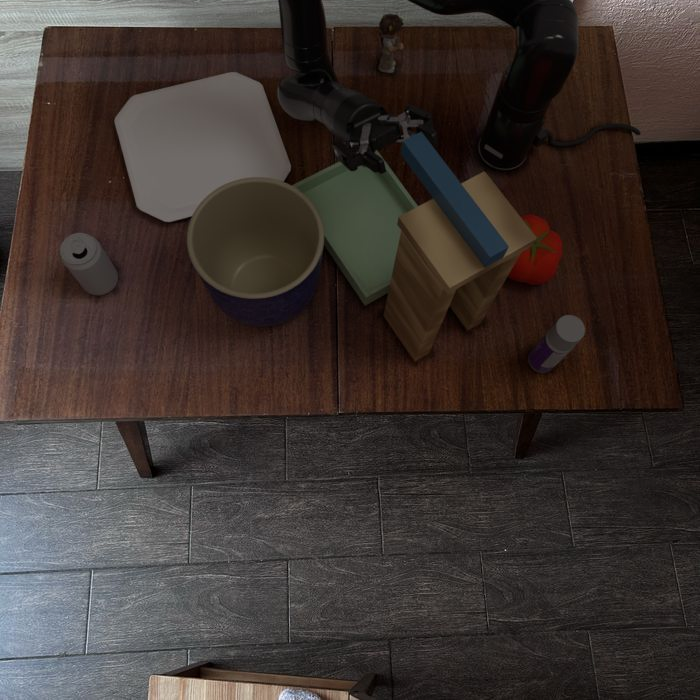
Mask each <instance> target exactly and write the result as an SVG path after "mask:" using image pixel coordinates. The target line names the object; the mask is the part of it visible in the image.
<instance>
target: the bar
mask: <svg viewBox="0 0 700 700" xmlns="http://www.w3.org/2000/svg"><path fill="white" fill-rule="evenodd" d="M400 156H401V157H402V159H403V160H404V161H405V162H406V164H407V165H408V166H409V168H410V169H411V171H412V172H413V173H414V175H415V176H416V177H417V179H418V180H419V181H420V183H421V184H422V185H423V187H424V189H426V191H427V193H429V195H430V196H431V198H432V199H434V200H435V201H436V203H437V204H438V205H439V207H440V208H441V209H442V211H443V212H444V214H445V215H446V216H447V218H448V219H449V220H450V222H451V223H452V224H453V226H454V227H455V228H456V230H457V231H458V232H459V234H460V235H461V236H462V238H463V239H464V240H465V242H466V243H467V244H468V246H469V247H470V249H471V250H472V251H473V253H474V254H475V255H476V257H477V258H478V259H479V261H480V262H481V263H482V265H483V266H484V267H485V268H486V267H487V266H489V265H491V264H493V263H494V262H496V261H498V260H500V259H502V258H503V257H504V255H505V253H506V251H507V250H508V248H509V246H508V245H507V243H506V242H505V241H504V239H503V238H502V237H501V235H500V234H499V233H498V231H497V230H496V229H495V227H494V226H493V225H492V224H491V222H490V221H489V220H488V218H487V217H486V216H485V214H484V213H483V212H482V210H481V209H480V208H479V207H478V205H477V204H476V203H475V201H474V200H473V199H472V197H471V196H470V195H469V193H468V192H467V191H466V189H465V188H464V187H463V186H462V184H461V183H462V182H460V180H459V179H458V177H457V176H456V175H455V174H454V172H453V171H452V169H451V168H450V167H449V166H448V164H447V163H446V162H445V160H444V158H443V157H441V155H440V154H439V152H438V151H437V150H436V149H435V147H434V148H433V146H432V145H431V144H430V142H429V141H428V140H427V138H426V137H425V136H424V134H423V133H422V132H419V133H417V134H415V135H413V136H412V137H410V138H408V139H406V140H404V141H403V142H401V148H400Z"/></svg>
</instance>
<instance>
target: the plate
mask: <svg viewBox="0 0 700 700" xmlns="http://www.w3.org/2000/svg"><path fill="white" fill-rule="evenodd" d="M276 122H277V121H276V120H275V116H274V114H273V111H272V107H271V106H270V103H269V100H268V97H267V94H266V91H265V89H264V85H263V84H262V83H261V82H259V81H258V80H255V79H253V78H250V77H249V76H246V75H244V74H242V73H239V72H238V71H237V72H236V71H230V72H225V73H222V74H218V75H213V76H208V77H203V78H201V79H196V80H193V81H187V82H184V83H180V84H179V83H178V84H175V85H171V86H167V87H163V88H159V89H154V90H151V91H150V90H149V91H146V92H142V93H138V94H134V95H132V96H131V97H129V98H128V99H127V101H126V103H125V104H124V105H123V106H122V107H121V109H120V110H119V112H118V113H117V114H116V116H115V117H114V125H115V130H116V133H117V137H118V140H119V144H120V148H121V153H122V156H123V159H124V163H125V167H126V171H127V175H128V179H129V182H130V186H131V190H132V193H133V197H134V202H135V204H136V205H135V206H136V208H137V209H138V210H139V211H140V212H142V213H144V214H146V215H148V216H151V217H152V218H155V219H157V220H159V221H161V222H163V223H169V224H170V223H174V222H178V221H182V220H185V219H191V217H192V215H193V213H194V212H195V210H196V208H197V207H198V205H199V204H200V203H201V202H202V201H203V200H204V198H206V197H207V196H208V195H209V194H210V193H211V192H213V191H214V190H216V189H217V188H219V187H221V186H223V185H225V184H227V183H229V182H232V181H235V180H239V179H244V178H251V177H263V178H271V179H276V180H279V181H282V182H285V181H286V180H287V178H288V176H289V175H290V173H291V171H292V165H291V162H290V159H289V156H288V153H287V150H286V148H285V144H284V142H283V140H282V139H283V138H282V137H281V134H280V131H279V128H278V125H277V123H276Z"/></svg>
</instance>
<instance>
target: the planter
mask: <svg viewBox="0 0 700 700" xmlns="http://www.w3.org/2000/svg"><path fill="white" fill-rule="evenodd" d="M292 185H293V184H292ZM292 185H291V184H290V183H287V182H285V181H284V182H282V181H279V180H276V179H271V178H263V177H251V178H244V179H239V180H235V181H232V182H229V183H227V184H225V185H223V186H221V187H219V188H217V189H216V190H214V191H213V192H211V193H210V194H209V195H208V196H207V197H206V198H204V200H203V201H202V202H201V203H200V204H199V205H198V207H197V208H196V210H195V212H194V213H193V215H192V217H190V220H189V223H188V226H187V230H186V231H187V232H186V248H187V254H188V257H189V259H190V262H191V264H192V266H193V268H194V270H195V271H196V273H197V275H198V276H199V278H200V280H201V282H202V283H203V286H204V287H205V288H206V291H207V292H208V294H209V296H210V297H211V300H212V301H213V302H214V303H215V304H216V306H217V307H218V308H219V309H220V310H221V311H222V312H223V313H224V314H226V315H227V316H228V317H229V318H231V319H233V320H235V321H237V322H238V323H241V324H243V325H247V326H251V327H257V328H258V327H259V328H268V327H274V326H275V327H276V326H278V325H281V324H284V323H287V322H288V321H290V320H292V319H294V318H295V317H297V316H298V315H299V314H301V313H302V312H303V311H304V310H305V309H306V307H307V306H308V305H309V303H310V302H311V301H312V299H313V297H314V295H315V293H316V291H317V288H318V284H319V280H320V275H321V267H322V260H323V255H324V254H323V252H324V247H325V246H324V227H323V223H322V220H321V217H320V214H319V212H318V210H317V209H316V207H315V206H314V204H313V203H312V202H311V200H310V199H309V198H308V197H307V196H306V195H305V194H304V193H302V192H301V191H300V190H298V189H297V188H295V187H294V186H292Z"/></svg>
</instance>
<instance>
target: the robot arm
mask: <svg viewBox="0 0 700 700" xmlns="http://www.w3.org/2000/svg"><path fill="white" fill-rule="evenodd" d="M407 1H408V2H409V3H411V4H413V5H415V6H417V7H420V8H422V9H423V10H425V11H428V12H431V13H433V14H436V15H439V16H458V15H464V14H465V15H466V14H474V13H475V14H476V13H479V14H480V13H482V14H486V15H489V16H492V17H494V18H496V19H498V20H500V21H501V22H504V23H505V24H507V25H508V26H510V27H511V28H512V29H514V30H515V53H514V57H513V60H512V61H511V63H510V64H508V65H507V66H506V67H505V69H504V71H503V73H502V74H501V75H502V76H501V79H500V82H499V83H498V87H497V90H496V93H495V97H494V99H493V102H492V106H491V108H490V110H489V114H488V118H487V120H486V123H485V125H484V129H483V131H482V134H481V137H480V139H479V140H478V141H479V142H478V145H477V153H478V157H479V159H480V160H481V162H482V163H483V164H484V165H485V166H486V167H488V168H489V169H492V170H493V171H497V172H502V173H507V172H513V171H515V170H517V169H519V168H521V166H523V164H524V163H525V162H526V159H527V157H528V155H529V154H531V152H532V150H533V147H534V148H538V147H540V146H542V145H544V144H545V142H546V139H547V138H548V139H547V141H548V143H549V144H550V145H551V146H553V147H557V148H567V147H572V146H573V147H574V146H578V145H580V144H583V143H585V142H587V141H588V140H589V139H590V138H591V137H592V136H594V134H596V133H597V132H599V131H603V130H609V129H621V130H626V131H630V132H632V133H633V134H635V135H636V136H641V131H640V130H639V129H638V128H637V127H635V126H632V125H629V124H626V123H625V124H624V123H606V124H601V125H598V126H595V127H593V128H592V129H590V131H589V132H588V133H587V134H585V135H584V136H583V137H581V138H578V139H575V140H570V141H563V142H562V141H556V140H554V135H553V133H552V131H550V130H549V129H544V128H543V126H544V124H545V119H544V118H545V116H546V114H547V111H548V109H549V107H550V105H551V103H552V101H553V99H555V97H557V96H558V95H559V93H560V92H561V90H562V89H563V87H564V85H565V83H566V81H567V79H568V77H569V76H570V74H571V72H572V70H573V68H574V66H575V63H576V61H577V58H578V54H579V16H578V11H577V8H576V6H575V4H574V2H573V1H572V0H407ZM277 3H278V13H279V22H280V32H281V40H282V42H281V43H282V48H283V56H284V61H285V63H286V65H287V66H288V68H289V69H291V70H292V71H293V72H292V73H290V74H288V75H286V76H285V77H283V78H282V79H281V80H280V82H279V84H278V86H277V93H276V94H277V99H278V102H279V104H280V106H281V108H282V109H283V110H284V112H286V114H287V115H289V116H290V117H291V118H293V119H295V120H298V121H300V122H305V123H311V124H318V125H319V124H320V126H323V127H324V128H325V129H327V130H328V131H329V132H330V133H331V134H332V135H333V136H334V137H335V138H337V139H336V140H333V141H332V142H331V144H332V148H333V152H334V155H335V159H337V160H338V162H339V161H340V162H341V163H342V164H343V165H344V166H345V167H346V168H348V169H349V170H350V171H356V170H357V169H358V166H363V167H367V168H369V169H370V170H372V171H373V172H376V173H377V172H379V173H380V174H383V173H385V172H386V168H385V164H384V160H385V159H384V158H383V157H382V158H383V159H384V160H383V159H382V158H381V157H380V156H378V155H377V154H375V152H376V150H377V151H381V150H383V149H385V148H386V147H388V146H391V145H393V144H395V143H403V141H404V140H406V139H408V138H410V137H412V136H413V135H415V134H417V133H419V132H422V133H423V134H424V136H425V137H426V138H427V140H428V141H429V142H430V144H431V145H432V146H433V148H434V149H435V148H436V147H437V146H438V142H439V138H438V132H437V130H436V129H435V128H434V123H433V116H432V113H430V112H428V111H426V110H424V109H421V108H419V107H417V106H414V105H412V104H407V105H405V106H404V107H403V109H404V112H402V113H400V114H399V115H398V114H395V113H394V114H393V113H389V112H388V111H387V109H386V108H385V107H384V106H383V105H382V104H381V103H378V101H375V100H374V99H372V98H370V97H368V96H367V95H365V94H363V93H361V92H359V91H357V90H354V89H350V88H349V87H347V86H345V85H344V84H342V83H340V81H339V79H338V77H337V74H336V72H335V70H334V66H333V63H332V61H331V58H330V55H329V51H328V32H327V19H326V13H325V7H324V3H323V0H277ZM412 128H415V130H416V131H412ZM401 129H402V133H403V134H401ZM354 151H357V152H359V153H357V152H356V154H355V152H354Z"/></svg>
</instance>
